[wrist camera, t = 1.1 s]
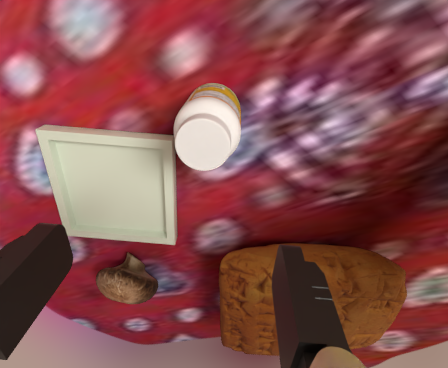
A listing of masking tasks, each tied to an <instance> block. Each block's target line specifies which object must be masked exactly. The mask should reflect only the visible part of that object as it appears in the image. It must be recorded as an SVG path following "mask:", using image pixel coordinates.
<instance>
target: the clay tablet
mask: <svg viewBox="0 0 448 368" xmlns="http://www.w3.org/2000/svg"><path fill="white" fill-rule="evenodd" d="M279 245H280V244H273V245H268V246H263V247H251V248H243V249H241V250H236V251H232V252H229V253H227V255H226V256H225V257H224V258H223V259H222V260H221V264H220V267H219V288H220V328H221V340H222V344H223V346H226V347H229V348H232V349H233V350H235V351H243V352H244V353H246V354H258V355H277V356H278V355H279V347H278V338H277V330H276V321H275V312H274V304H273V295H272V274H273V269H274V264H275V260H276V255H277V251H278V247H279ZM281 245H293V246H300V247H301V249H302V252H303V256H304V259H305V261H308V262H315V263H316V264H317V265H318V267H319V268H320V269H321V270H322V272H323V273H324V274H325V277H326V280H327V283H328V286H329V290H330V292H331V295H332V298H333V299H332V300H333V301H334V304H335V307H336V310H337V313H338V316H339V319H340V322H341V325H342V328H343V331H344V334H345V337H346V340H347V343H348V345H349V348H350V349H355V348H361V347H367V346H369V345H372V344H373V343H375V342H376V341H378V340H379V339H380V338H381V337H382V335H383V334H384V332H385V331H386V330H387V329H388V328H389V327H390V325H391V324H392V322H393V321H394V320H395V317H396V316H397V314H398V312H399V311H400V309H401V307H402V305H403V303H404V301H405V299H406V296H407V291H406V287H405V276H406V274H405V270H404V269H402V268H401V267H400V266H399V265H397V264H395V263H393V262H392V261H391V260H389V259H387V258H385V257H383V256H381V255H379V254H377V253H375V252H372V251H369V250H365V249H362V248H357V247H348V246H334V245H320V244H303V243H287V244H281ZM279 356H280V355H279Z"/></svg>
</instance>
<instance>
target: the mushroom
mask: <svg viewBox="0 0 448 368" xmlns="http://www.w3.org/2000/svg"><path fill="white" fill-rule="evenodd" d="M96 284H97V286H98V288H99V290H100V291H101V292H102V293H103V294H104V295H105V296H106V297H107V298H109V299H111V300H114V301H118V302H123V303H127V304H140V303H143V302H146V301H147V300H149V299H150V298H152V297H153V296H154V294H155V293H156V291H157V289H158V281H157V280H156V279H155V278H153V277H152V276H150V275H149V274H148V273H147V272H146V271H145V265H144V264H143V263H142V262H141V261H140V260H138V259H137V258H136V257H134V256H133V255H132V254H130V253H128V252H127V257H126V260H125V261H124V263H122V264H121V265H119V266H116V267H113V268H110V267H109V268H105V269H102V270H100V271H99V272H98V274H97V276H96Z"/></svg>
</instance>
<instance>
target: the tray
mask: <svg viewBox="0 0 448 368" xmlns="http://www.w3.org/2000/svg"><path fill="white" fill-rule="evenodd" d="M36 134H37V137H38V141H39V144H40V148H41V151H42V155H43V158H44V162H45V165H46V169H47V172H48V176H49V179H50V183H51V186H52V190H53V193H54V197H55V200H56V204H57V207H58V211H59V214H60V218H61V221H62V225H63V226H64V227H65V229H66V233H67V236H77V237H88V238H100V239H111V240H123V241H134V242H146V243H157V244H169V245H175V243H176V240H177V195H176V150H175V137H174V135H164V134H151V133H139V132H127V131H115V130H103V129H91V128H79V127H66V126H54V125H44V126H42V127H40V128H38V129H36Z"/></svg>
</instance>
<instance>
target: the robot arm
mask: <svg viewBox="0 0 448 368" xmlns="http://www.w3.org/2000/svg"><path fill="white" fill-rule="evenodd" d="M72 262H73V254H72V250H71V247H70V243H69V240H68V236H67V233H66V229H65V227H64V226H63V225H59V224H48V223H39V224H37V225H36V226H35V227H33V228H32V229H31V230H30V231H29V232H28V233H27V234H26V235H25V236H21V237H19V238H17V239H15V240H14V241H12V242H10V243H8V244H7V245H5V246H4V247H3V248H2V249H1V250H0V359H2V360H7V359H8V357H9V356H10V355H11V353H12V352H13V350H14V349H15V348H16V346H17V345H18V343H19V342H20V340H21V339H22V338H23V336H24V335H25V333H26V332H27V330H28V329H29V328H30V326H31V325H32V323H33V322H34V321H35V319H36V318H37V316H38V315H39V313H40V312H41V311H42V309H43V308H44V306H45V305H46V303H47V302H48V301H49V299H50V298H51V296H52V295H53V294H54V292H55V291H56V289H57V288H58V286H59V285H60V284H61V282H62V281H63V279H64V278H65V277H66V275H67V274H68V272H69V271H70V269H71V266H72ZM272 295H273V304H274V312H275V321H276V330H277V338H278V347H279V355H280V364H281V368H365V366H364V365H363V364H362V362H361V361H360V360H359V359H358V358H357V357H356V356H354V355H353V354H352V352H351V350H350V348H349V345H348V343H347V340H346V337H345V334H344V331H343V328H342V325H341V322H340V319H339V316H338V313H337V310H336V307H335V304H334V301H333V300H332V299H333V298H332V295H331V292H330V290H329V286H328V283H327V280H326V277H325V274H324V273H323V272H322V270H321V269H320V268H319V267H318V265H317V264H316V263H315V262H308V261H305V259H304V256H303V252H302V249H301V247H300V246H293V245H281V244H280V245H279V247H278V251H277V255H276V260H275V264H274V269H273V274H272Z"/></svg>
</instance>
